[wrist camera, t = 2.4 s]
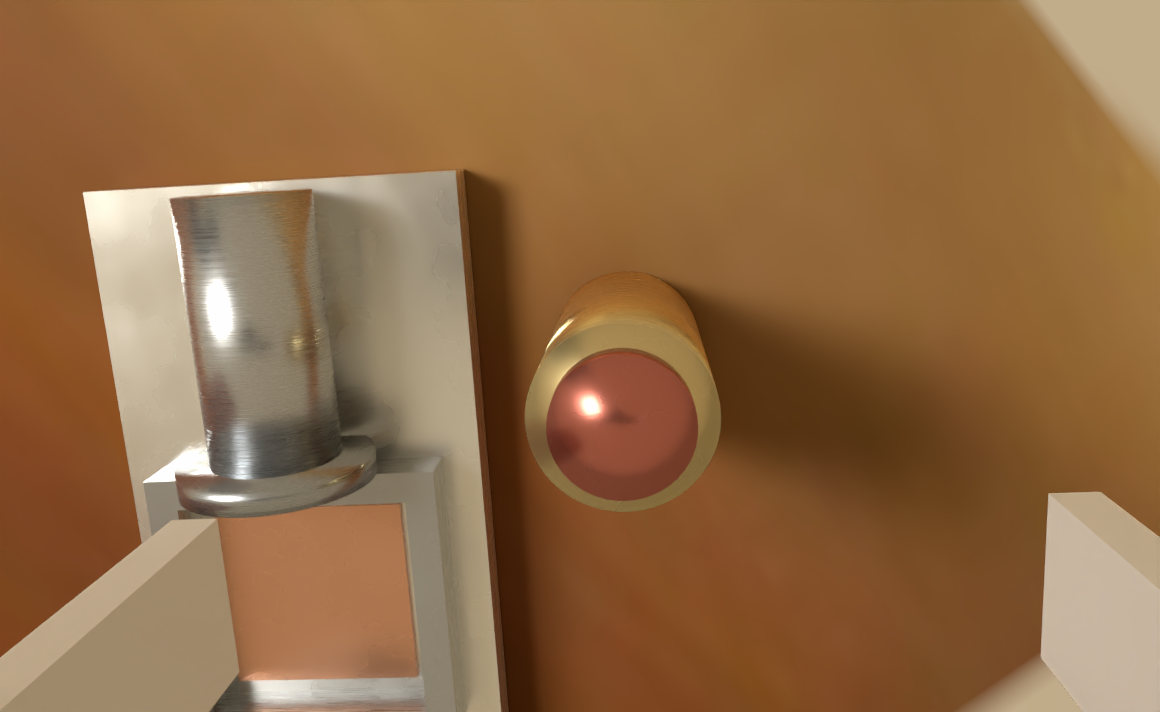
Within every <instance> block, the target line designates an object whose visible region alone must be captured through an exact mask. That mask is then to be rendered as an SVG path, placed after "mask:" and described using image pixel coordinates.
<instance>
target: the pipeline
mask: <svg viewBox="0 0 1160 712" xmlns="http://www.w3.org/2000/svg"><path fill="white" fill-rule="evenodd" d="M83 195H84V201H85V207H86V213H87V219H88V225H89V231H90V237H91V243H92V249H93V255H94V261H95V267H96V273H97V279H98V285H99V291H100V297H101V303H102V308H103V314H104V320H105V326H106V332H107V338H108V344H109V350H110V356H111V362H112V368H113V374H114V380H115V386H116V392H117V398H118V404H119V410H120V416H121V422H122V427H123V433H124V439H125V445H126V451H127V457H128V463H129V469H130V475H131V481H132V487H133V493H134V499H135V505H136V511H137V517H138V523H139V529H140V535H141V541H142V544H143V543H144V542H145V541H146V540H148V539H149V538H150V537H151V536H153V535H154V534H155V533H156V532H158V531H159V530H160V529H161V528H163V527H164V526H165V525H166V524H168V523H169V522H170V521H171V520H189V519H217V520H218V527H219V534H220V541H221V548H222V555H223V562H224V569H225V575H226V582H227V589H228V596H229V603H230V610H231V617H232V624H233V630H234V637H235V644H236V651H237V658H238V665H239V673H238V675H237V676H236V677H235V678H234V680H233V681H232V682H231V684H230V685H229V686H228V688H227V689H226V690H225V692H224V693H223V694H222V696H221V697H220V698H219V699H218V701H217V702H216V703H215V705H214V706H213V707H212V709H211V710H210V711H209V712H509V708H508V696H507V684H506V671H505V659H504V647H503V635H502V623H501V611H500V599H499V587H498V575H497V562H496V550H495V538H494V526H493V514H492V502H491V490H490V478H489V466H488V454H487V441H486V429H485V417H484V405H483V393H482V381H481V369H480V357H479V345H478V332H477V320H476V308H475V296H474V284H473V272H472V260H471V248H470V236H469V223H468V211H467V199H466V187H465V175H464V169H458V170H441V171H424V172H406V173H389V174H372V175H354V176H337V177H319V178H302V179H285V180H267V181H250V182H233V183H215V184H198V185H180V186H163V187H146V188H128V189H111V190H100V191H90V192H83Z"/></svg>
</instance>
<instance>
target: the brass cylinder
mask: <svg viewBox="0 0 1160 712" xmlns="http://www.w3.org/2000/svg"><path fill="white" fill-rule="evenodd" d="M525 428H526V435H527V439H528V442H529V446H530V449H531V451H532V453H533V456H534V458H535V460H536V461H537V463H538V465H539V466H540V468H541V470H542V471H543V472H544V473H545V475H546V476H547V477H548V479H549V480H550V481H551V482H552V483H553V484H554V485H556V486H557V487H558V488H559V489H560V490H561V491H563V492H564V493H565V494H567V495H568V496H570V497H572V498H573V499H575V500H577V501H579V502H581V503H584V504H586V505H588V506H591V507H595V508H598V509H602V510H608V511H614V512H631V511H641V510H645V509H650V508H653V507H656V506H659V505H662V504H664V503H666V502H668V501H670V500H672V499H674V498H676V497H677V496H679V495H680V494H682V493H683V492H685V491H686V490H687V489H688V488H689V487H690V486H692V485H693V484H694V483H695V482H696V481H697V479H698V478H699V477H700V476H701V475H702V474H703V472H704V471H705V469H706V468H707V466H708V465H709V463H710V461H711V459H712V457H713V455H714V453H715V450H716V447H717V444H718V441H719V435H720V430H721V408H720V401H719V397H718V393H717V389H716V386H715V382H714V379H713V376H712V373H711V369H710V366H709V363H708V360H707V356H706V353H705V350H704V347H703V343H702V340H701V337H700V333H699V330H698V327H697V324H696V321H695V318H694V315H693V313H692V311H691V309H690V307H689V306H688V304H687V303H686V301H685V300H684V298H683V297H682V296H681V295H680V294H679V293H678V292H677V291H676V290H675V289H674V288H672V287H671V286H670V285H669V284H667V283H665V282H664V281H662V280H660V279H658V278H656V277H653V276H651V275H647V274H644V273H638V272H616V273H611V274H607V275H603V276H601V277H598V278H596V279H594V280H592V281H590V282H589V283H587V284H586V285H584V286H583V287H582V288H580V289H579V290H578V291H577V292H576V293H575V294H574V295H573V296H572V297H571V299H570V300H569V301H568V303H567V304H566V306H565V308H564V309H563V311H562V313H561V316H560V318H559V320H558V323H557V325H556V327H555V330H554V332H553V334H552V337H551V339H550V341H549V343H548V346H547V348H546V350H545V353H544V355H543V357H542V360H541V362H540V364H539V367H538V369H537V371H536V374H535V376H534V378H533V381H532V383H531V385H530V388H529V392H528V395H527V399H526V406H525Z"/></svg>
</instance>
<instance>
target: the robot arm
mask: <svg viewBox="0 0 1160 712" xmlns="http://www.w3.org/2000/svg"><path fill="white" fill-rule="evenodd" d="M1041 659H1042V660H1043V661H1044V662H1045V664H1046V665H1047V666H1048V668H1049V669H1050V670H1051V672H1052V673H1053V674H1054V675H1055V677H1056V678H1057V679H1058V681H1059V682H1060V683H1061V685H1062V686H1063V687H1064V688H1065V690H1066V691H1067V692H1068V694H1069V695H1070V696H1071V698H1072V699H1073V700H1074V701H1075V703H1076V704H1077V705H1078V707H1079V708H1080V709H1081V711H1082V712H1160V537H1159V536H1157V535H1156V534H1155V533H1154V532H1152V531H1151V530H1150V529H1148V528H1147V527H1146V526H1144V525H1143V524H1142V523H1141V522H1139V521H1138V520H1137V519H1135V518H1134V517H1133V516H1131V515H1130V514H1129V513H1127V512H1126V511H1125V510H1124V509H1122V508H1121V507H1120V506H1118V505H1117V504H1116V503H1114V502H1113V501H1112V500H1111V499H1109V498H1108V497H1107V496H1105V495H1104V494H1103V493H1101V492H1075V493H1048V514H1047V535H1046V556H1045V577H1044V597H1043V618H1042V639H1041ZM238 673H239V665H238V658H237V651H236V644H235V637H234V630H233V624H232V617H231V610H230V603H229V596H228V589H227V582H226V575H225V569H224V562H223V555H222V548H221V541H220V534H219V527H218V520H217V519H189V520H171V521H170V522H169V523H168V524H166V525H165V526H164V527H163V528H161V529H160V530H159V531H158V532H156V533H155V534H154V535H153V536H151V537H150V538H149V539H148V540H146V541H145V542H144V543H143V544H141V545H140V546H139V547H138V548H136V549H135V550H134V551H133V552H131V553H130V554H129V555H128V556H126V557H125V558H124V559H123V560H121V561H120V562H119V563H118V564H116V565H115V566H114V567H113V568H111V569H110V570H109V571H108V572H106V573H105V574H104V575H103V576H101V577H100V578H99V579H98V580H96V581H95V582H94V583H93V584H91V585H90V586H89V587H88V588H86V589H85V590H84V591H83V592H81V593H80V594H79V595H78V596H76V597H75V598H74V599H73V600H71V601H70V602H69V603H68V604H66V605H65V606H64V607H63V608H61V609H60V610H59V611H58V612H56V613H55V614H54V615H53V616H51V617H50V618H49V619H48V620H46V621H45V622H44V623H43V624H41V625H40V626H39V627H38V628H36V629H35V630H34V631H33V632H31V633H30V634H29V635H28V636H26V637H25V638H24V639H23V640H21V641H20V642H19V643H18V644H16V645H15V646H14V647H13V648H11V649H10V650H9V651H8V652H6V653H5V654H4V655H3V656H2V657H0V712H209V711H210V710H211V709H212V707H213V706H214V705H215V703H216V702H217V701H218V699H219V698H220V697H221V696H222V694H223V693H224V692H225V690H226V689H227V688H228V686H229V685H230V684H231V682H232V681H233V680H234V678H235V677H236V676H237V675H238Z"/></svg>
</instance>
